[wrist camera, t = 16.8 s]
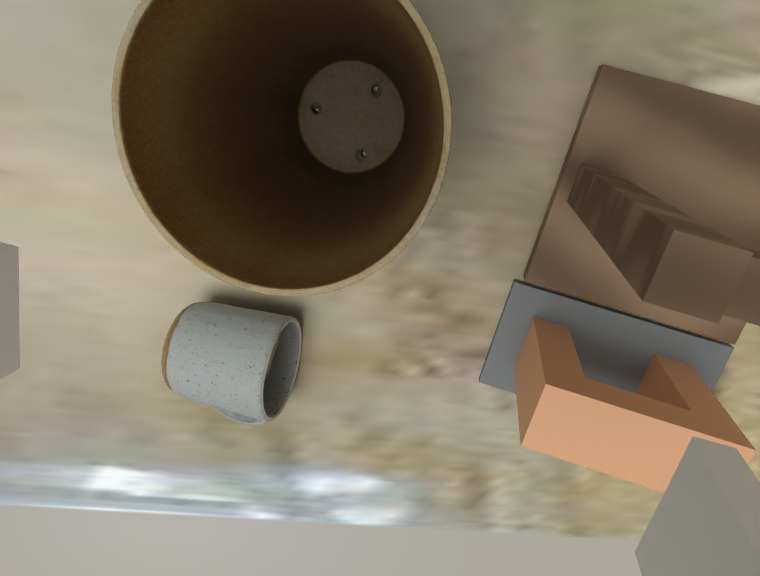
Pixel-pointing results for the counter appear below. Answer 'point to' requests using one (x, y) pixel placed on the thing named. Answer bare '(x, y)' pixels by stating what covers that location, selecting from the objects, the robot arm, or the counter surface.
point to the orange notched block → (614, 412)
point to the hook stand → (658, 207)
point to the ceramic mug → (233, 359)
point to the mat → (597, 341)
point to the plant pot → (282, 134)
